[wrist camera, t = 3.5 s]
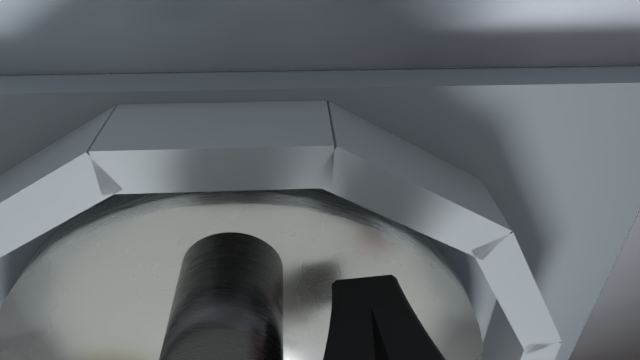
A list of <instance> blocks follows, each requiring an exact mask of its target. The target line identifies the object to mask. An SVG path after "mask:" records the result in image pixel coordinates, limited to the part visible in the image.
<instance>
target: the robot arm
mask: <svg viewBox="0 0 640 360" xmlns="http://www.w3.org/2000/svg"><path fill="white" fill-rule="evenodd" d="M331 285H332V308H331V318H330V325H329V332H328V338H327V343H326V348H325V353H324V357H323V360H445V358H444V357H443V355H442V354H441V352H440V351H439V349H438V348H437V346H436V345H435V344H434V342H433V341H432V339H431V338H430V336H429V335H428V333H427V332H426V330H425V329H424V327H423V325H422V324H421V322H420V320H419V319H418V317H417V316H416V314H415V312H414V311H413V309H412V307H411V305H410V304H409V302H408V300H407V298H406V296H405V295H404V293H403V291H402V289H401V287H400V285H399V283H398V280H397V278H396V277H394V276H393V275H382V276H372V277H362V278H352V279H342V280H336V281H335V282H334V283H332V284H331Z"/></svg>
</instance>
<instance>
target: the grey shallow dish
mask: <svg viewBox="0 0 640 360" xmlns="http://www.w3.org/2000/svg"><path fill="white" fill-rule="evenodd" d="M317 188H321V189H324V190H326V191H328V192H330V193H333V194H335V195H337V196H339V197H342V198H344V199H346V200H348V201H351V202H353V203H355V204H357V205H360V206H362V207H364V208H366V209H369V210H371V211H373V212H375V213H378V214H380V215H382V216H384V217H387V218H389V219H391V220H393V221H396V222H398V223H400V224H402V225H404V226H407V227H409V228H411V229H413V230H416V231H418V232H420V233H422V234H425V235H427V236H428V237H429V238H430V239H431V240H432V241H433V242H434V243H435V244H436V245H437V246H438V247H439V248H440V249H441V250H442V251H443V252H444V254H445V255H446V256H447V258H448V259H449V261H450V262H451V264H452V265H453V266H454V268H455V269H456V271H457V273H458V275H459V278H460V280H461V282H462V284H463V286H464V289H465V291H466V293H467V296H468V298H469V301H470V303H471V306H472V308H473V310H474V313H475V315H476V318H477V320H478V323H479V328H480V332H481V337H482V341H483V360H569V358H570V356H571V353H572V351H573V349H574V347H575V345H576V343H577V341H578V339H579V337H580V335H581V332H582V330H583V328H584V326H585V324H586V322H587V320H588V318H589V316H590V314H591V311H592V309H593V307H594V305H595V303H596V301H597V299H598V297H599V295H600V293H601V290H602V288H603V286H604V284H605V282H606V280H607V278H608V276H609V274H610V272H611V269H612V267H613V265H614V263H615V261H616V259H617V257H618V255H619V253H620V251H621V248H622V246H623V244H624V242H625V240H626V238H627V236H628V234H629V232H630V229H631V227H632V225H633V223H634V221H635V219H636V217H637V215H638V213H639V211H640V66H614V67H547V68H480V69H413V70H346V71H279V72H212V73H145V74H77V75H10V76H0V309H1V307H2V305H3V303H4V301H5V299H6V298H7V296H8V294H9V293H10V291H11V289H12V288H13V286H14V284H15V283H16V281H17V279H18V278H19V276H20V274H21V273H22V271H23V269H24V268H25V266H26V265H27V263H28V262H29V261H30V259H31V258H32V257H33V256H34V254H35V253H36V252H37V250H38V249H39V248H40V246H41V245H42V244H43V243H44V242H46V241H47V240H48V239H49V238H50V237H51V236H52V235H53V234H54V233H55V232H57V231H58V230H59V229H60V228H61V227H62V226H64V225H65V224H67V223H68V222H70V221H71V220H73V219H74V218H76V217H77V216H79V215H80V214H82V213H83V212H85V211H86V210H88V209H90V208H92V207H94V206H96V205H98V204H101V203H103V202H105V201H107V200H109V199H111V198H113V197H116V196H118V195H120V194H143V193H178V192H213V191H248V190H283V189H317Z"/></svg>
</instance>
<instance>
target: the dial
mask: <svg viewBox="0 0 640 360" xmlns="http://www.w3.org/2000/svg"><path fill="white" fill-rule="evenodd" d="M382 275H393V276H394V277H396V278H397V280H398V283H399V285H400V287H401V289H402V291H403V293H404V295H405V296H406V298H407V300H408V302H409V304H410V305H411V307H412V309H413V311H414V312H415V314H416V316H417V317H418V319H419V320H420V322H421V324H422V325H423V327H424V329H425V330H426V332H427V333H428V335H429V336H430V338H431V339H432V341H433V342H434V344H435V345H436V346H437V348H438V349H439V351H440V352H441V354H442V355H443V357H444V358H445V360H483V341H482V337H481V332H480V328H479V323H478V320H477V318H476V315H475V313H474V310H473V308H472V306H471V303H470V301H469V298H468V296H467V293H466V291H465V289H464V286H463V284H462V282H461V280H460V278H459V275H458V273H457V271H456V269H455V268H454V266H453V265H452V264H451V262H450V261H449V259H448V258H447V256H446V255H445V254H444V252H443V251H442V250H441V249H440V248H439V247H438V246H437V245H436V244H435V243H434V242H433V241H432V240H431V239H430V238H429V237H428V236H427V235H425V234H422V233H420V232H418V231H416V230H413V229H411V228H409V227H407V226H404V225H402V224H400V223H398V222H396V221H393V220H391V219H389V218H387V217H384V216H382V215H380V214H378V213H375V212H373V211H371V210H369V209H366V208H364V207H362V206H360V205H357V204H355V203H353V202H351V201H348V200H346V199H344V198H342V197H339V196H337V195H335V194H333V193H330V192H328V191H326V190H324V189H321V188H317V189H283V190H248V191H213V192H178V193H143V194H120V195H118V196H116V197H113V198H111V199H109V200H107V201H105V202H103V203H101V204H98V205H96V206H94V207H92V208H90V209H88V210H86V211H85V212H83V213H82V214H80V215H79V216H77V217H76V218H74V219H73V220H71V221H70V222H68V223H67V224H65V225H64V226H62V227H61V228H60V229H59V230H58V231H57V232H55V233H54V234H53V235H52V236H51V237H50V238H49V239H48V240H47V241H46V242H44V243H43V244H42V245H41V246H40V248H39V249H38V250H37V252H36V253H35V254H34V256H33V257H32V258H31V259H30V261H29V262H28V263H27V265H26V266H25V268H24V269H23V271H22V273H21V274H20V276H19V278H18V279H17V281H16V283H15V284H14V286H13V288H12V289H11V291H10V293H9V294H8V296H7V298H6V299H5V301H4V303H3V305H2V307H1V309H0V360H323V357H324V353H325V348H326V343H327V338H328V332H329V325H330V318H331V308H332V285H331V284H332V283H334V282H335V281H336V280H342V279H352V278H362V277H372V276H382Z"/></svg>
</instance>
